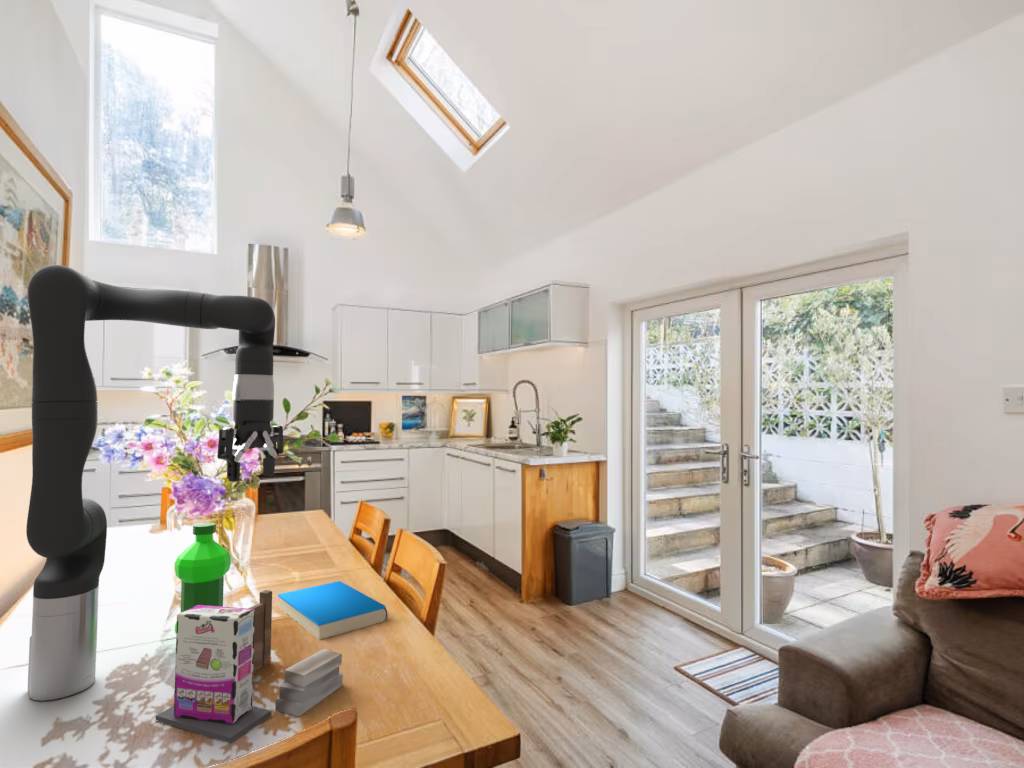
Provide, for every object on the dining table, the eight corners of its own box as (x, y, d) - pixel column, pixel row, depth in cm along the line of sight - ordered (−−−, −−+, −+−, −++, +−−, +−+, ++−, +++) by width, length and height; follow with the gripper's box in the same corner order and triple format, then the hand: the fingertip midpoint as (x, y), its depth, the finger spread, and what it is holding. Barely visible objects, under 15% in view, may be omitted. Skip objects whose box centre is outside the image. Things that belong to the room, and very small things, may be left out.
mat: (155, 720, 89) (155, 715, 89) (199, 696, 96) (199, 691, 96) (230, 743, 83) (230, 737, 83) (270, 715, 91) (271, 710, 91)
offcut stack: (275, 710, 92) (276, 673, 92) (320, 679, 102) (321, 647, 103) (300, 716, 90) (301, 679, 91) (343, 685, 101) (344, 651, 101)
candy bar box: (254, 708, 91) (257, 607, 92) (233, 725, 86) (236, 619, 87) (195, 701, 93) (198, 602, 94) (171, 717, 88) (175, 613, 89)
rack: (199, 697, 96) (201, 615, 97) (264, 661, 110) (266, 589, 110) (205, 699, 95) (208, 617, 96) (270, 662, 109) (272, 591, 110)
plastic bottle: (238, 638, 120) (241, 522, 121) (190, 657, 111) (194, 532, 112) (210, 629, 125) (213, 517, 126) (162, 646, 116) (166, 526, 117)
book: (318, 624, 120) (276, 593, 138) (318, 644, 120) (276, 610, 138) (388, 605, 131) (341, 578, 150) (388, 623, 131) (341, 594, 150)
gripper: (266, 398, 119) (264, 473, 119) (209, 397, 106) (206, 482, 106) (294, 398, 117) (292, 475, 116) (238, 397, 103) (236, 484, 103)
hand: (251, 478), depth 111 cm, fingers open, 8 cm apart
